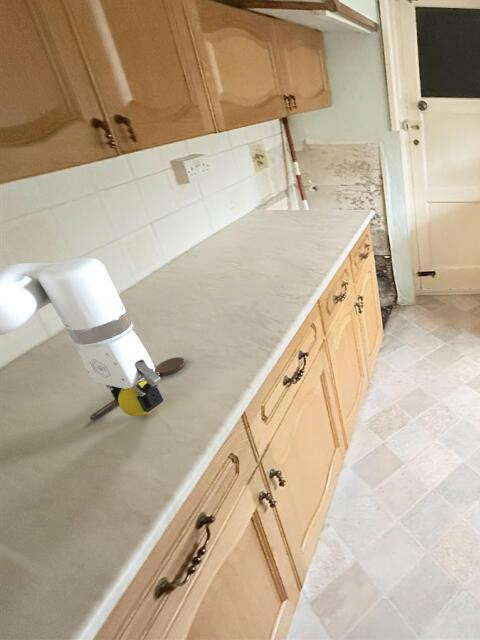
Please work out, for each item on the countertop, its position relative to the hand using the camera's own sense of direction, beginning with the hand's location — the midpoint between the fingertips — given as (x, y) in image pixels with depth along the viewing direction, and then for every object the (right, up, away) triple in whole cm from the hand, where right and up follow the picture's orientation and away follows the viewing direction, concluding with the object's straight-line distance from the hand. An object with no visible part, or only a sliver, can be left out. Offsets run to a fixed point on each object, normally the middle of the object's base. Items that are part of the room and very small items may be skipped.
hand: (141, 402), depth 77 cm
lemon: (0, -3, +1) cm, 3 cm away
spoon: (-7, +1, +8) cm, 11 cm away
